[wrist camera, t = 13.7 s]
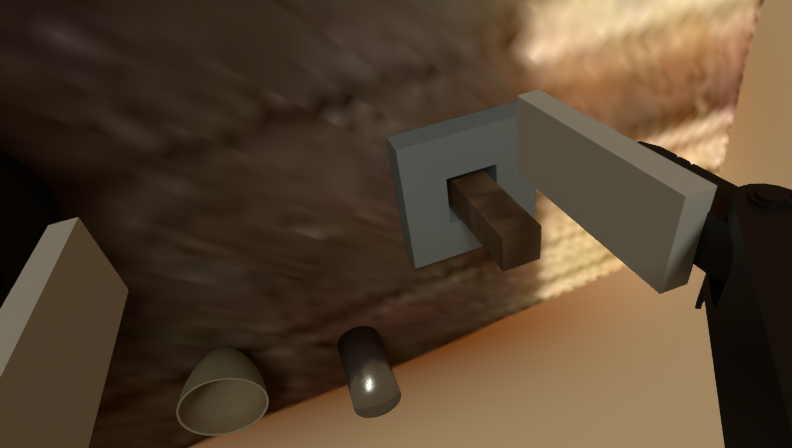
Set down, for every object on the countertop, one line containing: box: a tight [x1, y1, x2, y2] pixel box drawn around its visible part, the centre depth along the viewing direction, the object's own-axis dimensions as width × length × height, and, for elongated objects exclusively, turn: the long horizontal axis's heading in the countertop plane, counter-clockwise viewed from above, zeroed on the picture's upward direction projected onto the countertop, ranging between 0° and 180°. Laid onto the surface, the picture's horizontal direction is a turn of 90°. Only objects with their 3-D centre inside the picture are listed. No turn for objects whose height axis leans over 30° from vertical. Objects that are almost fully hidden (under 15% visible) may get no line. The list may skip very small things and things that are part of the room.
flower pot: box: [176, 348, 269, 436], centre depth 56 cm, size 10×10×7 cm
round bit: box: [338, 326, 401, 418], centre depth 60 cm, size 6×6×10 cm
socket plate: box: [386, 101, 536, 269], centre depth 53 cm, size 16×16×4 cm
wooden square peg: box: [446, 169, 541, 271], centre depth 49 cm, size 4×4×14 cm
